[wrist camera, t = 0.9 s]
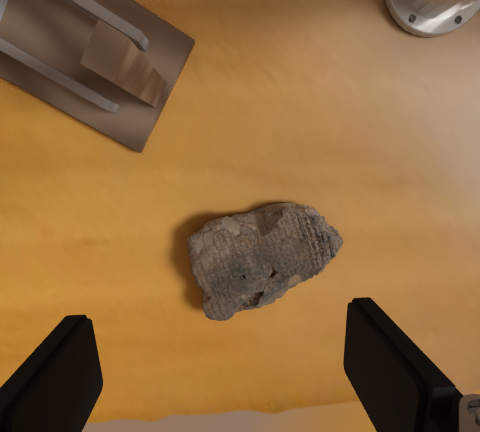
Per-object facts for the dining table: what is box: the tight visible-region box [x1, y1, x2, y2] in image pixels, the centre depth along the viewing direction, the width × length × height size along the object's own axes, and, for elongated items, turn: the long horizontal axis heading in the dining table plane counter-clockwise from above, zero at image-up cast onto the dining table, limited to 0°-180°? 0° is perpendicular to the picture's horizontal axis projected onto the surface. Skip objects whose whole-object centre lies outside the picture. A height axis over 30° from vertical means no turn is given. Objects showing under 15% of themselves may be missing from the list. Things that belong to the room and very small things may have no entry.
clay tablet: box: [187, 203, 343, 321], centre depth 37 cm, size 14×5×20 cm
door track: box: [0, 0, 195, 153], centre depth 24 cm, size 14×20×15 cm
